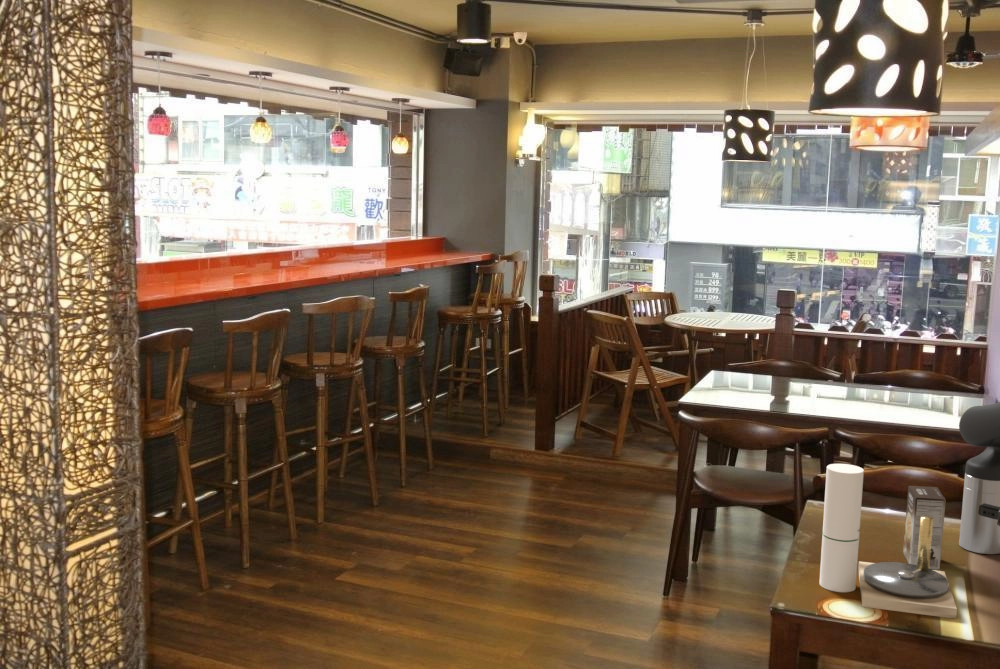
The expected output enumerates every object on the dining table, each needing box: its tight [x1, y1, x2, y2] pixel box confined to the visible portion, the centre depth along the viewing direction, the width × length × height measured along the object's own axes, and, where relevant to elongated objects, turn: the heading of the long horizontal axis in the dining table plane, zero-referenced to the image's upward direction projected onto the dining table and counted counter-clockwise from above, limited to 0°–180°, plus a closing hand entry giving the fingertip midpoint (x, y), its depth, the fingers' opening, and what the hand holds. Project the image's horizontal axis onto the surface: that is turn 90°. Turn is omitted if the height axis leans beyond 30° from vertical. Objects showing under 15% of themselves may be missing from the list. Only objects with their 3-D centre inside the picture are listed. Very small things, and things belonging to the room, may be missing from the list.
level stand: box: [857, 560, 958, 619], centre depth 205 cm, size 20×17×2 cm
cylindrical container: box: [818, 463, 865, 593], centre depth 207 cm, size 7×7×25 cm
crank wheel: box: [863, 516, 949, 598], centre depth 204 cm, size 16×16×12 cm
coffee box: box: [903, 485, 946, 571], centre depth 221 cm, size 9×6×16 cm
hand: (980, 508), depth 199 cm, fingers closed
